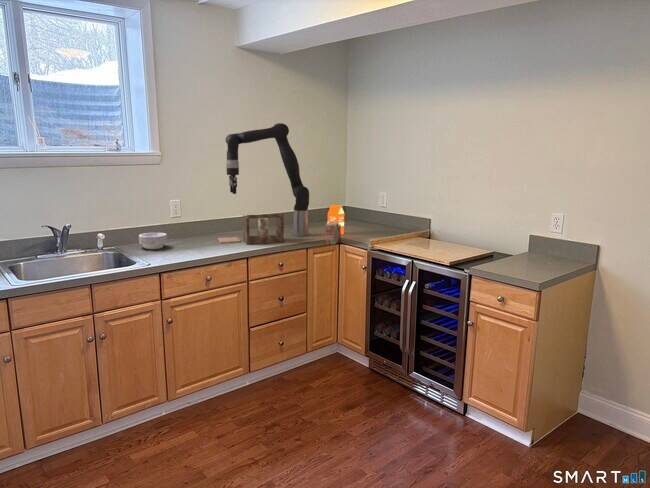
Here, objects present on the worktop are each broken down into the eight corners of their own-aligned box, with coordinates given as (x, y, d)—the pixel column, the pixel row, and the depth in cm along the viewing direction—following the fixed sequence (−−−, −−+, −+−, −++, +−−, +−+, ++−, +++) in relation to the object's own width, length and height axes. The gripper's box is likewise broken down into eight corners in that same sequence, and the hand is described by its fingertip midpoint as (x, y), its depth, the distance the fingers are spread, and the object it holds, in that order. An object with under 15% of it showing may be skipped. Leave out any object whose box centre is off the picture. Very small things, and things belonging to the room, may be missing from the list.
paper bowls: (157, 243, 291) (157, 230, 289) (172, 247, 282) (172, 234, 280) (134, 247, 279) (133, 234, 278) (148, 252, 270) (148, 238, 268)
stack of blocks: (331, 237, 323) (331, 219, 320) (340, 238, 322) (341, 219, 319) (324, 244, 303) (325, 224, 300) (334, 244, 301) (335, 225, 299)
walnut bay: (278, 238, 314) (278, 211, 310) (283, 242, 303) (283, 214, 299) (243, 240, 305) (242, 212, 302) (247, 244, 295) (246, 215, 291)
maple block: (266, 236, 307) (266, 217, 304) (268, 237, 302) (268, 218, 299) (258, 236, 305) (258, 217, 302) (260, 238, 300) (260, 218, 298)
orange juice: (337, 235, 329) (338, 206, 325) (326, 233, 334) (327, 205, 330) (343, 234, 335) (344, 205, 331) (333, 232, 340) (334, 204, 336)
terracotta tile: (236, 238, 312) (236, 237, 312) (240, 242, 301) (240, 240, 301) (217, 239, 308) (217, 237, 308) (220, 243, 297) (220, 241, 297)
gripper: (240, 167, 296) (241, 194, 300) (236, 166, 309) (237, 191, 313) (228, 167, 294) (229, 194, 297) (224, 166, 307) (225, 192, 310)
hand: (233, 193), depth 305 cm, fingers open, 8 cm apart
